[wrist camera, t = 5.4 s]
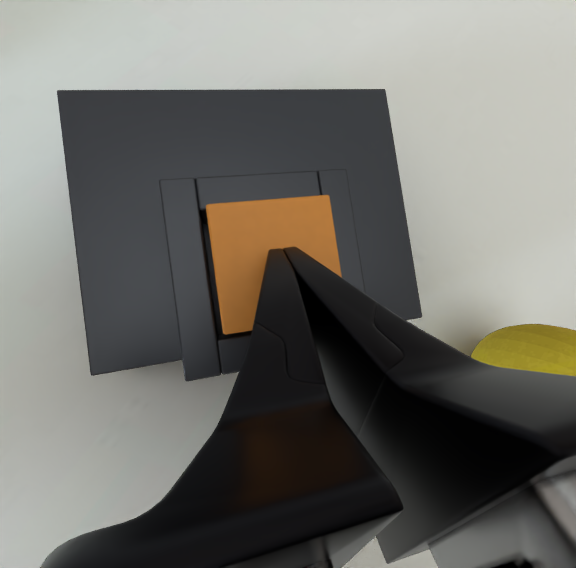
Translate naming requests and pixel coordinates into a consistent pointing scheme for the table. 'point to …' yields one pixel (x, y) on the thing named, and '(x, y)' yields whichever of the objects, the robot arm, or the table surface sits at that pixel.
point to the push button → (210, 190)
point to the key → (263, 247)
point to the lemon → (530, 349)
